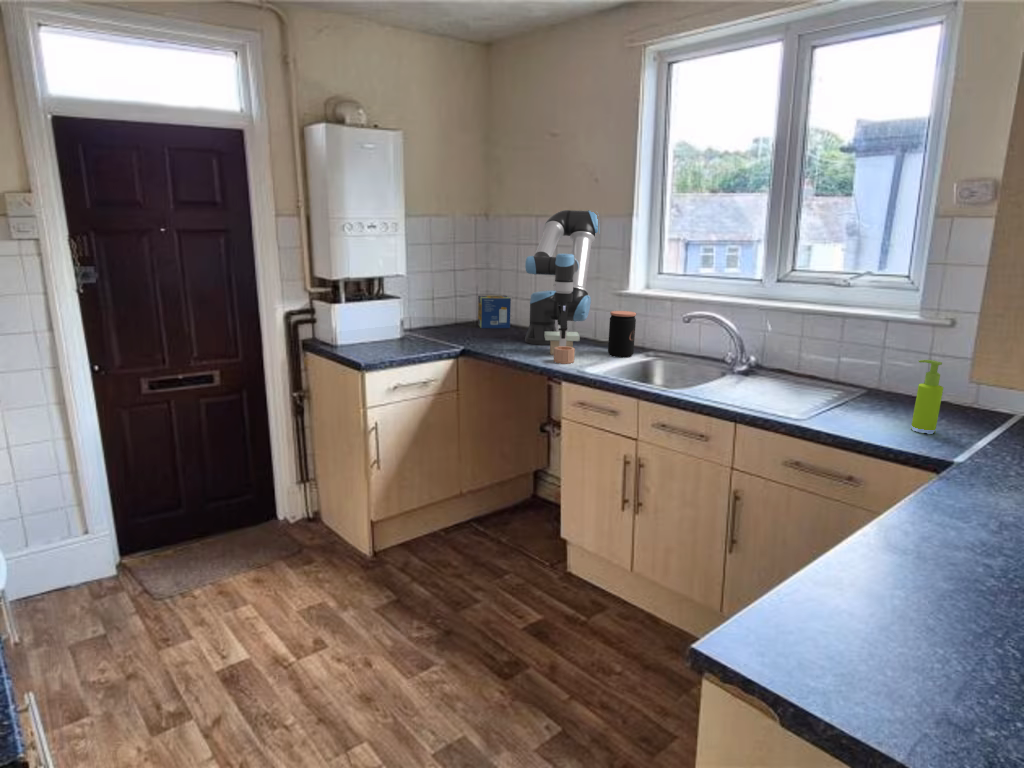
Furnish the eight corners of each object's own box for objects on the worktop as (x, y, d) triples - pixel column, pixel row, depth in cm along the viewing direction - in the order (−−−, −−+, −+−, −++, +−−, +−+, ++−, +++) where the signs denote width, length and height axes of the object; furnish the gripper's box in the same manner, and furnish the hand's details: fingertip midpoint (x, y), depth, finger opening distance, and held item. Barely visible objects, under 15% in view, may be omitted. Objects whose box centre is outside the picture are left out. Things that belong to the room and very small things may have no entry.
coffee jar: (633, 358, 275) (636, 315, 271) (606, 356, 277) (609, 313, 273) (633, 353, 285) (636, 311, 281) (608, 352, 287) (611, 310, 283)
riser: (549, 352, 284) (550, 337, 283) (571, 352, 284) (571, 337, 283) (550, 354, 278) (551, 339, 277) (572, 355, 278) (573, 340, 277)
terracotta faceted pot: (553, 359, 270) (553, 346, 268) (573, 359, 270) (573, 346, 268) (554, 363, 262) (554, 349, 260) (574, 364, 262) (575, 350, 260)
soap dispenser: (912, 425, 192) (924, 357, 187) (938, 432, 187) (951, 362, 182) (902, 429, 189) (915, 359, 184) (929, 435, 183) (942, 364, 178)
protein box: (477, 325, 349) (477, 295, 346) (506, 324, 353) (507, 295, 349) (480, 328, 340) (481, 297, 336) (510, 328, 343) (511, 297, 339)
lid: (544, 336, 284) (544, 331, 284) (577, 336, 285) (577, 332, 284) (545, 340, 275) (545, 335, 274) (579, 341, 275) (579, 336, 274)
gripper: (552, 288, 287) (550, 337, 292) (556, 295, 263) (554, 348, 268) (570, 289, 287) (568, 338, 292) (575, 295, 263) (573, 349, 268)
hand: (561, 343), depth 280 cm, fingers open, 13 cm apart
